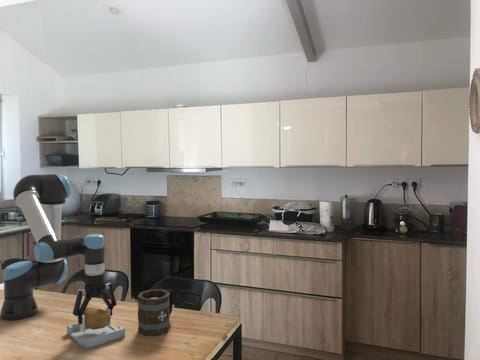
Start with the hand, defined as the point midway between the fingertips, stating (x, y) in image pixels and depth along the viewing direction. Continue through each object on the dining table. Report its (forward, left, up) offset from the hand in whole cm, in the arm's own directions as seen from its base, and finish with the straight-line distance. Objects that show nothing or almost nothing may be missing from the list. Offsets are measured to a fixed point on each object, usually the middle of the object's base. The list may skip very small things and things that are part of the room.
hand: (95, 327), depth 158 cm
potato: (0, 0, 0) cm, 0 cm away
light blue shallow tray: (0, 0, -3) cm, 3 cm away
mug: (+10, +23, -3) cm, 25 cm away
